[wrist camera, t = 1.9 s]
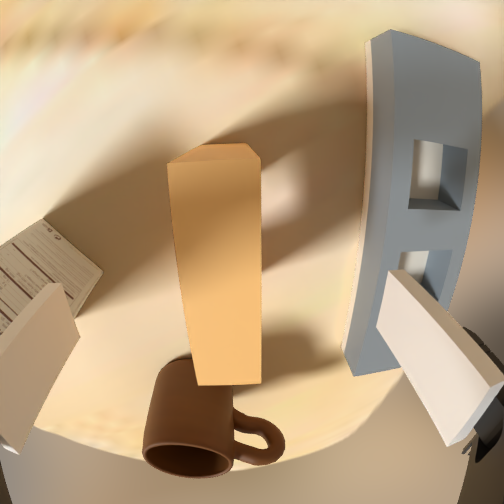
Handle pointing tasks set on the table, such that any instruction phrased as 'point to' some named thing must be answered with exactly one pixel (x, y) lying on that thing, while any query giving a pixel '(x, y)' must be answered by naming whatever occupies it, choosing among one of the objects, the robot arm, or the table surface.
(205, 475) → the mug
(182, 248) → the tall wooden block
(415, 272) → the rail
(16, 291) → the supplement box
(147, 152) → the table surface
